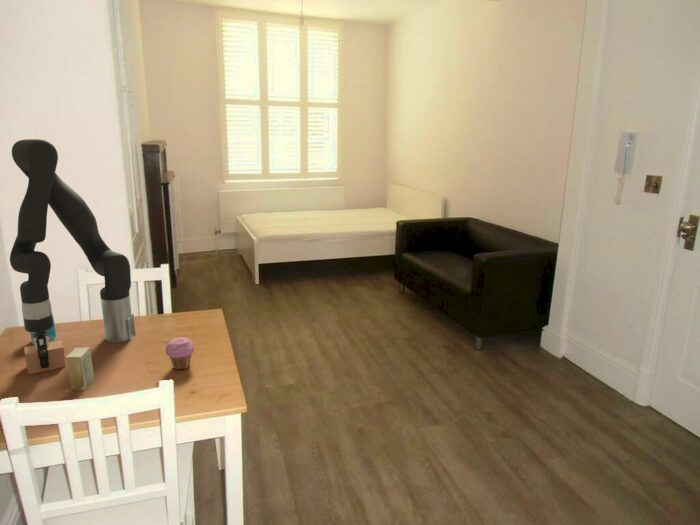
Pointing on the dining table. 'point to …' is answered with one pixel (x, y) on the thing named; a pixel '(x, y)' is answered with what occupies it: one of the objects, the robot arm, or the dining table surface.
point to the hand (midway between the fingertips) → (44, 362)
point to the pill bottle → (50, 333)
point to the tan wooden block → (54, 357)
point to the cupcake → (180, 352)
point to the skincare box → (80, 368)
